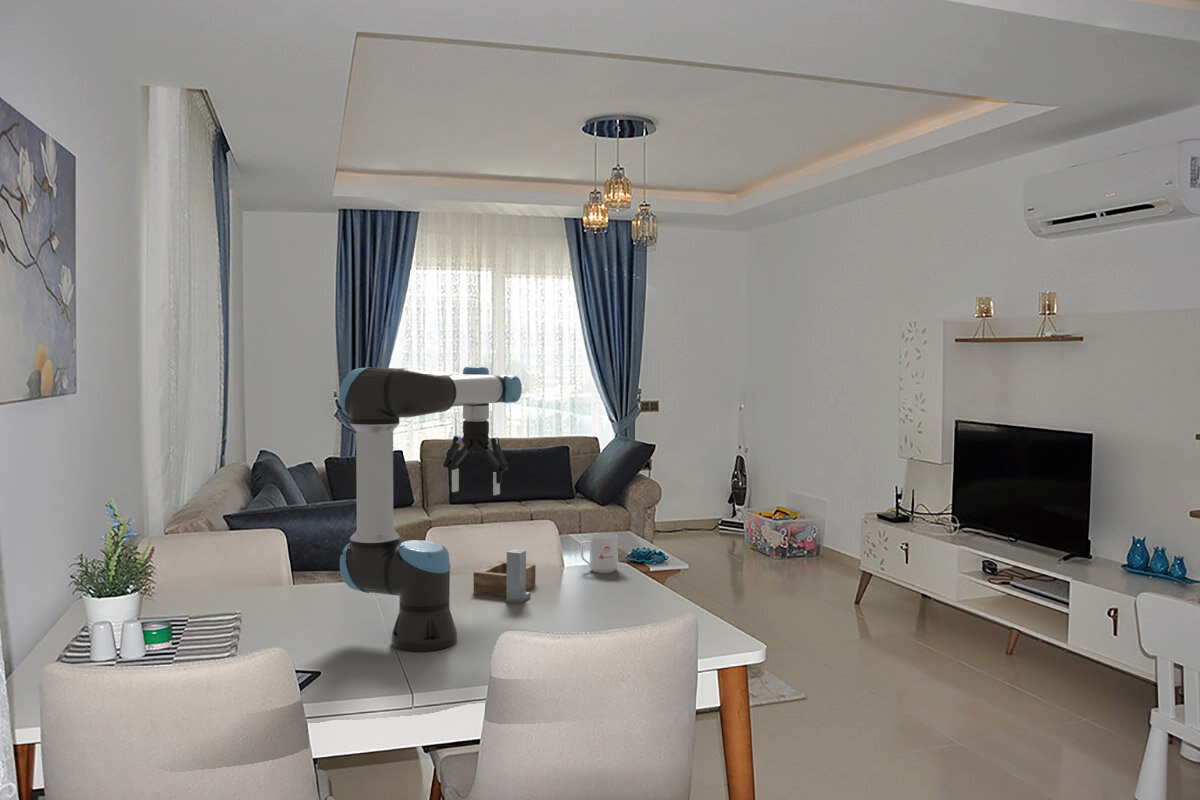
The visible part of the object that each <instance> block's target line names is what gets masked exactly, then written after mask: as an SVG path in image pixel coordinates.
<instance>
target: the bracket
mask: <svg viewBox="0 0 1200 800" xmlns="http://www.w3.org/2000/svg"><path fill="white" fill-rule="evenodd" d="M506 562H507V596H506V597H505V599H506V603H509V604H519V605H520V604H522V603H523V602H525V601H528V600H529V599H531V591H530V592H529V591H527V589H526V564H527V550H526V549H515V548H512V549H511V550H508V551H506Z"/></svg>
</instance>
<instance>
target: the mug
mask: <svg viewBox="0 0 1200 800" xmlns="http://www.w3.org/2000/svg"><path fill="white" fill-rule="evenodd" d="M618 541H619V536H618V535H617V534H616V533H611V532H598V533H597V532H596V533H592V534H590V536H589V540H588V539H587V540H583V541H580V557H581V560H582V561H584V562H585V563H586V564H587V565H588V566H589V568H590V569H591V571H592V572H593V573H599V574H611V573H614V572H615V571H616V570H617V569H618V564H619V563H618V561H619V554H618V553H619V552H618V551H619V549H618V548H619V542H618ZM585 543H589V561H588V560H586V559H585V558H584V544H585Z"/></svg>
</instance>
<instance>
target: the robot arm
mask: <svg viewBox="0 0 1200 800" xmlns="http://www.w3.org/2000/svg"><path fill="white" fill-rule="evenodd" d="M522 391H523V385H522V381H521V379H520V377H519V376H517V375H511V374H490V370H489V368H488V367H486V366H464V368H463V370H462V373H459V374H458V373H451V374H447V373H445V372H436V371H435V372H434V371H425V370H421V369H415V368H409V367H408V368H406V367H405V368H404V367H402V368H400V367H399V368H397V367H393V368H392V367H373V366H372V367H371V366H369V367H361V368H359V367H358V368H355V369H353V370H351V371H350V372H348V373H347V374H346V377H345V378H344V379H343V380H342V382H341V385H340V387H339V393H338V403H339V407H340V408H341V411H342V412H343V414H345V415H346V416H349V425H350V426H351V427H352V429H354V431H355V432H356V434H355V435H356V439H355V440H356V443H355V444H356V445H355V446H356V450H355V451H356V457H355V458H356V470H355V471H356V472H355V473H356V474H355V475H356V531H355V532H354V533H353V534H352V535H351V536H350V539H349V541H350V542H349V543H347V544H346V545H345V546H344V547H343V549H342V554H341V555H340V557H339V571H340V576H341V578H342V580H343V582H344V584H345V585H347V586H348V588H350V589H352V590H354V591H358V592H363V593H367V594H369V593H370V594H371V593H372V594H381V595H388V596H390V595H391V596H398V597H399V610H398V614H397V617H396V620H395V623H394V627H393V630H392V633H391V645H392V646H393V647H394V648H395V649H399V650H402V651H406V652H408V651H409V652H433V651H437V650H438V651H439V650H443V649H446V648H450V647H451V646H454V645H455V644H456V643H457V641H458V639H457V637H458V636H457V635H458V633H457V628H456V624H455V622H454V619H453V616H452V613H451V609H450V571H451V570H450V569H451V562H450V553H449V551H448V549H447V548H446V547H445V546H444V545H442V544H440V543H439V542H435V541H431V540H424V539H423V540H419V539H418V540H417V539H412V540H405V541H403V542H401V543H400V540H401V539H400V534H399V533H398V532H397V531H396V530H395V529H394V430H395V429H396V428H397V427H398V426H399V425H400V418H415V417H420V416H426V415H430V414H436V413H443V412H446V411H449V410H450V409H451V408H453V407H462V419H463V421H462V434H463V435H462V436H461V435H454V436H452V437H453V438H452V445H451V446H450V448H449V451H448V453H447V455H446V458H445V460H444V461H443V467H444V468H447V469H448V470H449V481H451V492H452V493H457V492H459V491H460V486H459V485H460V482H459V481H460V480H459V478H460V471H459V470H460V469H459V468H458V466H459V464H460V463H461V462H462V461H463V460H464V459H465V457H466V456H467V455H468V453H481V454H482V455H484V457H485V458H486V460H487V461H488V462H489V464H490V465H491V466H492V468H493V469H494V472H493V473H492V474H493V475H492V477H493V479H492V493H493V496H498V495H501V484H502V483H503V476H504V475H503V472H504V471H507V470H509V469H510V467H509V463H508V462H507V460H506V457H505V455H504V452H503V450H502V448H501V445H500V439H499V437H498V436H496V437H492V438H491V437H489V435H490V434H489V433H490V422H489V419H490V404H494V403H496V404H497V403H503V404H504V403H506V404H509V403H512V404H513V403H517V402H518V401H520V398H521V396H522ZM462 443H463V446H462V448H461V449H460V451H459V452H458V450H459V447H460V446H461V444H462ZM489 445H490V446H491V448H492V449H491V448H490V447H489ZM492 451H493V452H492ZM457 452H458V454H457ZM493 453H494V454H493ZM455 456H456V457H455Z"/></svg>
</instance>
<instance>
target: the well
mask: <svg viewBox="0 0 1200 800" xmlns="http://www.w3.org/2000/svg"><path fill="white" fill-rule="evenodd" d="M535 585H536V564H534V563H533V564H532V563H526V590H528V589H529V588H532V587H533V586H535ZM473 594H478V595H484V596H485V595H486V596H495V597H503V598H506V596H507V561H505V560H504V561H502V560H498V561H496V562H494V563H491V564H489V565H487V566H485V567H482V568H481V569H477V570H476V571H474V572H473Z"/></svg>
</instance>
